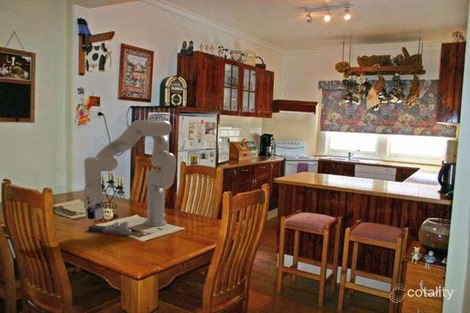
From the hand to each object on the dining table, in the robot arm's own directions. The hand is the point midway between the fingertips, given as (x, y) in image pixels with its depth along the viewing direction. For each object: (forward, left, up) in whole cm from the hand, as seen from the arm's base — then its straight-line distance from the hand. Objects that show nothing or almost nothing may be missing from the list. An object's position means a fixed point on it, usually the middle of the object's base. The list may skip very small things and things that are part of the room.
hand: (94, 216), depth 191 cm
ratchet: (-8, +4, -10) cm, 14 cm away
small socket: (-14, +4, -10) cm, 18 cm away
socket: (0, 0, -1) cm, 1 cm away
